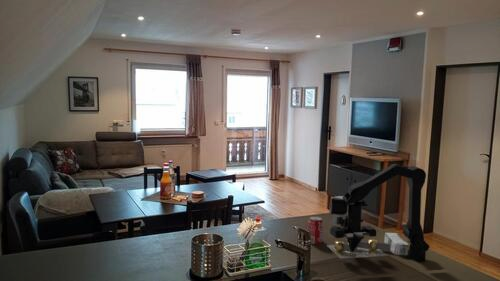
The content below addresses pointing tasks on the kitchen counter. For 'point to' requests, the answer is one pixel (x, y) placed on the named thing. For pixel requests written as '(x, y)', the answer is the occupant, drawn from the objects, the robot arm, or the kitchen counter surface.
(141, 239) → the kitchen counter surface
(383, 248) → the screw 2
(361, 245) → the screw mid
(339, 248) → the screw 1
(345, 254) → the base plate
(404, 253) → the syrup box
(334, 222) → the skincare box
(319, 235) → the soda can
